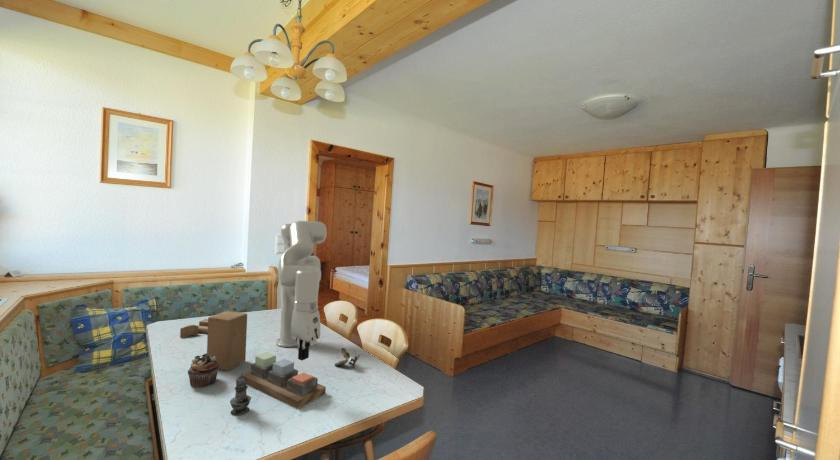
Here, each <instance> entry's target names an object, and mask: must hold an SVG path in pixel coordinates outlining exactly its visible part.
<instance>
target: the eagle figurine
mask: <svg viewBox="0 0 840 460" xmlns="http://www.w3.org/2000/svg"><path fill="white" fill-rule="evenodd" d="M340 352H341V354H342V356H343V358H345V359H342V360H339V361H338V362H336V363H334V366H335V367H338V366H345V365H346V364H347V365H348V364H349V365H351V366H352V368H353V369H355V364H356V363H357V361H358V360H359V357H360V354H358V355H357V356H356V355H355V356H354V359H352V356H351V355H350V353H349V352H347V350H346V348H345V347H342V348H341V351H340Z"/></svg>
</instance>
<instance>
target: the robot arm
mask: <svg viewBox="0 0 840 460" xmlns="http://www.w3.org/2000/svg"><path fill="white" fill-rule="evenodd" d="M327 230H328V229H327V226H326V225H325V224H324V222H322V221H309V220H297V221H294V222H293V223H284V224H283V225H282V226H281V228H280V234H281V238H282V241H283V242H284V245H285V251H284V252H283V253H282V254H281V256H280V258H279V260H278V280H279V284H280V285H279V287H280V297H281V299H280V300H281V302H280V303H281V305H280V307H281V309H280V310H281V311H280V328H279V329H280V331H279V332H280V333H279V338H278V339H276V342H275V343H276V345H277V346H278V347H280V348H281V347H282V348H293V347H297V348H298V353H297V360H300V361H304V360H307V359H308V358H309V357H310V348H311V347H312V346H316V345H317V343H318V342H317V340H318V339H320V338H321V316H320V310H318V309H319V305H318V303H319V300H318V299H319V291H320V290H319V289H320V282H321V280H322V270H321V260H320V258H319V257H318V256H316V255H312V254H313V252H314V249H315V248H314V245H315V244H322V243H324V241H326V238H327V235H328V234H327V233H328V231H327Z"/></svg>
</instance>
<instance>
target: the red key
mask: <svg viewBox="0 0 840 460" xmlns="http://www.w3.org/2000/svg"><path fill="white" fill-rule="evenodd" d="M313 377H315V376H313V375H312V374H309V373H306V372H304V371H303V372H301V373H298V375H296V376H294V377H292V381H293V382H296V383H298V384H300V385H303V384H305V383H307V382H309V381H311V380H313Z"/></svg>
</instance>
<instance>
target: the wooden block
mask: <svg viewBox="0 0 840 460" xmlns="http://www.w3.org/2000/svg"><path fill="white" fill-rule="evenodd" d="M207 319H208V333H207V338H206V339H207V340H206V341H207V342H206V353H207V354H208V356H212V355H213V356H215V357H216V360H217V362H218V365H219V370H220V371H228V372H229V371H230V370H232V369H234V368H236V367H237V366H239V365H241V364H242V363H245V362H246V357H247V356H246V353H247V352H246V351H247V335H248V334H247V330H248V327H247V326H248V313H245V312H238V311H230V310H225V311H223V312H220V313H218V314H214V315H210V316H209V317H207Z"/></svg>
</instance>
